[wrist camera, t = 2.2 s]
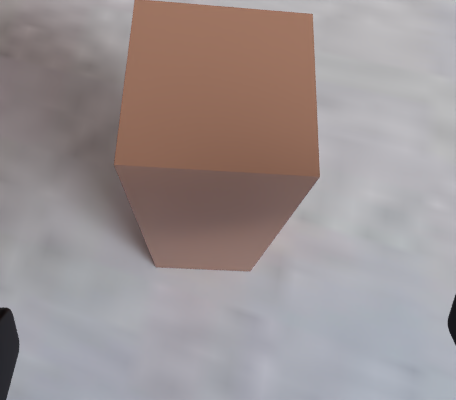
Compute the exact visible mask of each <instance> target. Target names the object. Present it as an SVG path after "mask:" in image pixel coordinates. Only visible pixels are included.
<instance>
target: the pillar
mask: <svg viewBox="0 0 456 400" xmlns="http://www.w3.org/2000/svg"><path fill="white" fill-rule="evenodd" d="M114 166H115V169H116V171H117V174H118V176H119V178H120V181H121V183H122V186H123V188H124V191H125V193H126V195H127V198H128V200H129V203H130V205H131V208H132V210H133V213H134V215H135V217H136V220H137V222H138V225H139V227H140V230H141V232H142V234H143V237H144V239H145V242H146V244H147V247H148V249H149V252H150V254H151V256H152V259H153V261H154V264H155V266H156V267H161V268H184V269H207V270H230V271H251V270H252V269H253V267H254V266H255V264H256V263H257V262H258V260H259V259H260V258H261V256H262V255H263V254H264V252H265V251H266V249H267V248H268V247H269V245H270V244H271V243H272V241H273V240H274V239H275V237H276V236H277V234H278V233H279V232H280V230H281V229H282V228H283V226H284V225H285V224H286V222H287V221H288V219H289V218H290V217H291V215H292V214H293V213H294V211H295V210H296V209H297V207H298V206H299V204H300V203H301V202H302V200H303V199H304V198H305V196H306V195H307V194H308V192H309V191H310V189H311V188H312V187H313V185H314V184H315V183H316V181H317V180H318V179H319V177H320V171H319V148H318V125H317V102H316V80H315V57H314V34H313V14H306V13H294V12H282V11H270V10H258V9H246V8H234V7H222V6H210V5H198V4H186V3H174V2H162V1H150V0H135V2H134V10H133V18H132V26H131V34H130V41H129V49H128V57H127V65H126V73H125V81H124V89H123V97H122V105H121V113H120V121H119V129H118V136H117V144H116V152H115V160H114Z"/></svg>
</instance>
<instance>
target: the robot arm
mask: <svg viewBox="0 0 456 400" xmlns="http://www.w3.org/2000/svg"><path fill="white" fill-rule="evenodd" d="M448 328H449V332H450V334H451V336H452V338H453V340H454V343H455V345H456V295H455V298H454V301H453V304H452V308H451V311H450V314H449V317H448ZM18 353H19V338H18V333H17V329H16V325H15V321H14V317H13V314H12V311H11V310H10V309H9V308H0V400H6V398H7V394H8V391H9V387H10V383H11V379H12V376H13V372H14V368H15V364H16V360H17V357H18Z"/></svg>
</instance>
